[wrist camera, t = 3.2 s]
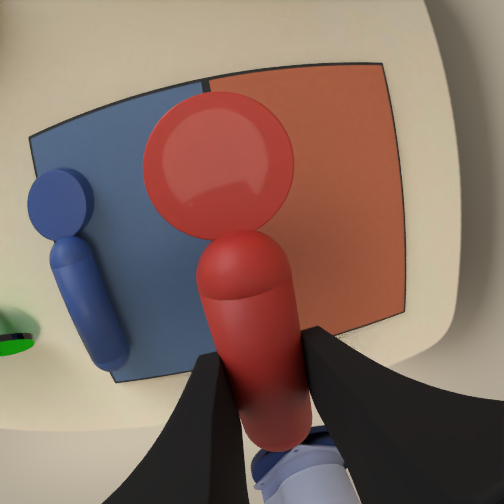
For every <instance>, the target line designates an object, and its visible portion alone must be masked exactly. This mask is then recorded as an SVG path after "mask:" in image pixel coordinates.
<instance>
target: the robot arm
mask: <svg viewBox="0 0 504 504" xmlns="http://www.w3.org/2000/svg"><path fill="white" fill-rule="evenodd" d="M301 338H302V344H303V351H304V358H305V366H306V373H307V380H308V388H309V391H310V394H311V396H312V399H313V402H314V405H315V407H316V409H317V411H318V413H319V415H320V417H321V419H322V421H323V422H324V424H325V426H326V428H327V430H328V432H329V434H330V436H331V437H332V439H333V441H334V443H335V445H336V446H327V445H316V444H307V443H300V444H299V445H297V446H296V447H294V448H292V449H290V450H289V451H288V452H287V453H286V454H285V455H284V456H283V457H282V458H281V459H280V460H279V461H278V462H277V463H276V464H275V466H274V467H273V468H272V469H271V470H270V471H269V472H268V473H267V474H266V475H264V476H263V477H262V478H261V479H260V480H259V481H258V482H257V483H256V484H255V485H254V489H255V490H261V492H262V496H263V501H264V504H360V502H359V499H358V497H357V495H356V493H355V491H354V488H353V486H352V484H351V481H350V479H349V477H348V475H347V473H346V470H345V468H344V466H343V463H344V462H345V464H346V466H347V468H348V470H349V472H350V475H351V477H352V480H353V482H354V485H355V487H356V490H357V493H358V495H359V498H360V500H361V503H362V504H504V401H500V400H492V399H484V398H477V397H472V396H467V395H462V394H458V393H454V392H450V391H446V390H442V389H439V388H436V387H433V386H429V385H427V384H424V383H421V382H418V381H416V380H413V379H411V378H408V377H406V376H403V375H401V374H399V373H397V372H394V371H392V370H390V369H388V368H386V367H384V366H382V365H380V364H379V363H377V362H375V361H373V360H371V359H370V358H368V357H366V356H365V355H363V354H361V353H360V352H358V351H356V350H355V349H353V348H351V347H350V346H348V345H347V344H345V343H344V342H342V341H341V340H339V339H338V338H336V337H335V336H333V335H332V334H330V333H329V332H327V331H326V330H325V329H323V328H322V327H320V326H315V327H311V328H308V329H304V330H301ZM102 504H249V499H248V492H247V484H246V473H245V461H244V450H243V439H242V426H241V421H240V416H239V411H238V408H237V405H236V402H235V399H234V396H233V393H232V391H231V388H230V385H229V382H228V379H227V376H226V373H225V370H224V367H223V364H222V361H221V358H220V355H219V354H218V353H217V351H216V352H211V353H207V354H202V355H199V357H198V358H197V360H196V363H195V365H194V368H193V370H192V373H191V375H190V378H189V380H188V382H187V384H186V387H185V389H184V391H183V393H182V395H181V397H180V399H179V401H178V403H177V405H176V407H175V409H174V411H173V413H172V414H171V416H170V418H169V420H168V422H167V423H166V425H165V427H164V429H163V430H162V432H161V434H160V435H159V437H158V438H157V440H156V441H155V443H154V444H153V446H152V447H151V449H150V450H149V451H148V453H147V454H146V456H145V457H144V458H143V460H142V461H141V462H140V463H139V464H138V466H137V467H136V468H135V469H134V471H133V472H132V473H131V474H130V475H129V477H128V478H127V479H126V480H125V481H124V482H123V483H122V484H121V486H120V487H119V488H118V489H117V490H116V491H115V492H113V493H112V494H111V495H110V496H109V497H108V498H107V499H106V500H105V501H104V502H103V503H102Z"/></svg>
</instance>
